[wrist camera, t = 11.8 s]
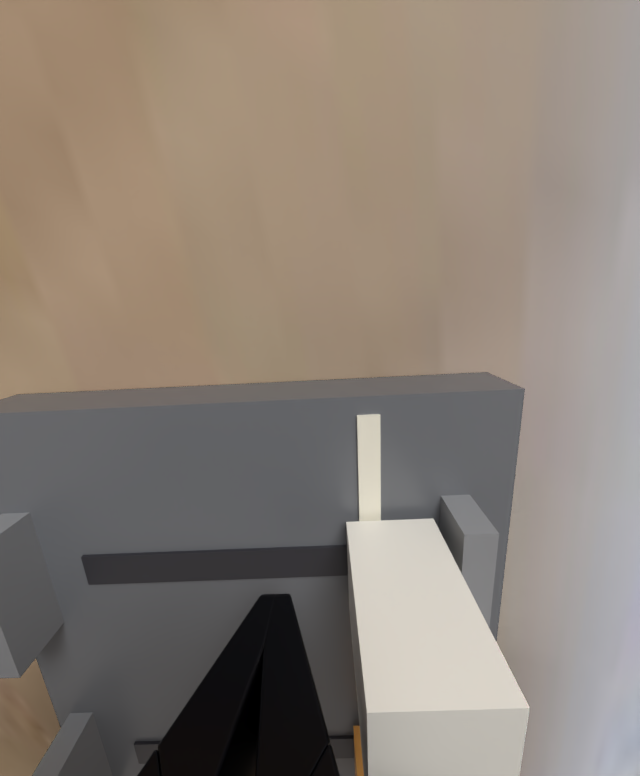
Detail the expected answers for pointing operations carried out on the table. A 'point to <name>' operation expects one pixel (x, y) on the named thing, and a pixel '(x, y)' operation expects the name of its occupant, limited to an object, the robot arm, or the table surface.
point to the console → (225, 534)
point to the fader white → (426, 660)
